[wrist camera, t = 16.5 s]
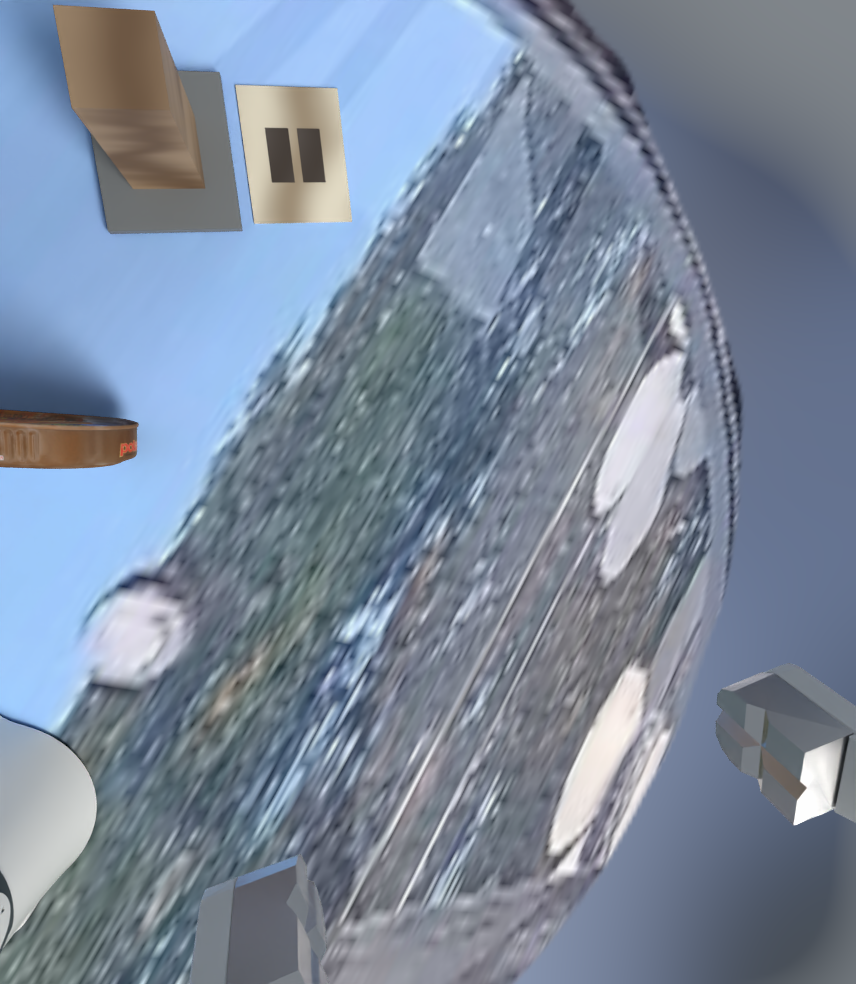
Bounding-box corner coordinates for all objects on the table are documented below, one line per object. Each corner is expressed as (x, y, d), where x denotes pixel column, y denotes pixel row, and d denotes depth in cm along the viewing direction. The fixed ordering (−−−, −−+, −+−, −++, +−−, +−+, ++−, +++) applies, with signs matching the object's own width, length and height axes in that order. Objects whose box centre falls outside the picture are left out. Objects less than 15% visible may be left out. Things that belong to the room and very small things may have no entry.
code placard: (254, 225, 37) (254, 222, 37) (236, 88, 36) (235, 84, 35) (351, 223, 38) (352, 221, 38) (336, 91, 37) (337, 88, 37)
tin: (154, 420, 37) (110, 418, 29) (154, 463, 37) (109, 473, 29) (-96, 402, 33) (-228, 394, 25) (-94, 450, 34) (-223, 457, 26)
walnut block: (133, 189, 34) (71, 107, 26) (120, 114, 34) (52, 4, 25) (205, 188, 35) (170, 109, 27) (194, 116, 35) (154, 10, 26)
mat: (110, 233, 35) (108, 231, 34) (82, 72, 33) (78, 66, 33) (242, 231, 37) (241, 228, 36) (220, 77, 35) (219, 72, 35)
